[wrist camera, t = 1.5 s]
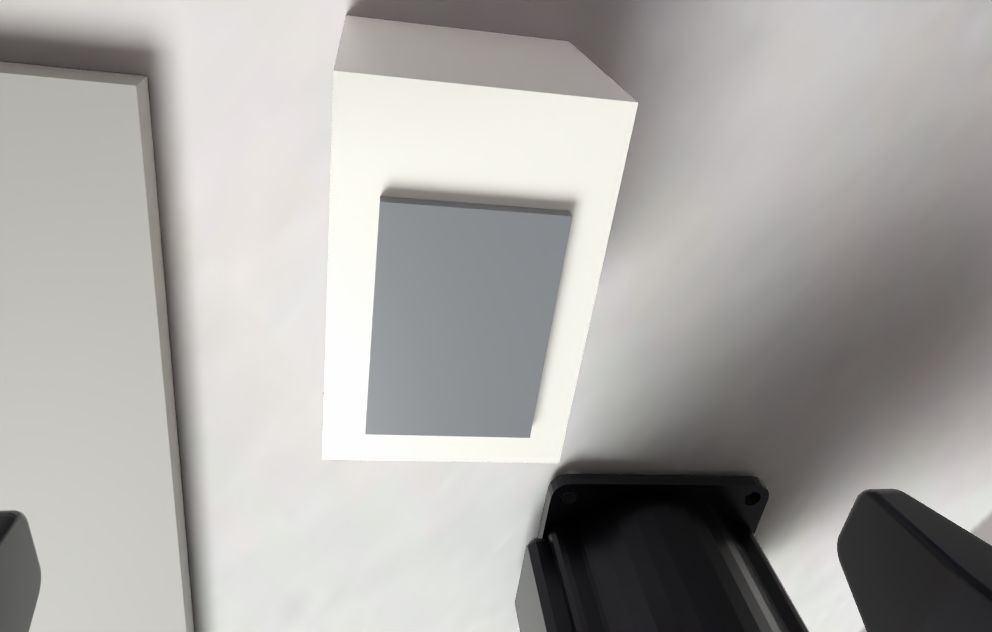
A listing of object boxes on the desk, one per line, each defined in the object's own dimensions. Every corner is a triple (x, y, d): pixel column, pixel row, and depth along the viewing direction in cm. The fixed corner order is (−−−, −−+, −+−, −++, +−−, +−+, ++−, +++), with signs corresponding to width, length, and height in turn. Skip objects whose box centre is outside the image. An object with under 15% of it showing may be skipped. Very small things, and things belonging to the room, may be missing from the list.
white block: (568, 40, 16) (643, 106, 11) (518, 331, 19) (561, 471, 15) (345, 14, 15) (332, 74, 11) (335, 322, 18) (320, 468, 14)
